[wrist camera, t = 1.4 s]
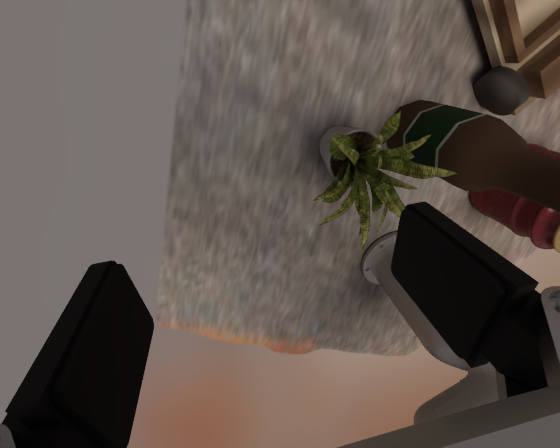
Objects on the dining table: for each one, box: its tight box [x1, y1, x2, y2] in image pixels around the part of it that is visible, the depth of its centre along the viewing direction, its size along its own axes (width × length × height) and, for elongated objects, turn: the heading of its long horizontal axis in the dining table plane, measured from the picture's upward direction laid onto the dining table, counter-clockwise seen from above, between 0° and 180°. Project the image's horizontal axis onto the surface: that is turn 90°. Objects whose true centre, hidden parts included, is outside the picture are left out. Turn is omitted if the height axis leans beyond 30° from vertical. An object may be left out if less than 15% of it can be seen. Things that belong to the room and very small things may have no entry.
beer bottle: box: [387, 100, 560, 212], centre depth 29 cm, size 8×8×24 cm
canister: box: [470, 144, 560, 253], centre depth 40 cm, size 13×13×18 cm
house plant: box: [313, 110, 457, 251], centre depth 31 cm, size 14×14×16 cm
